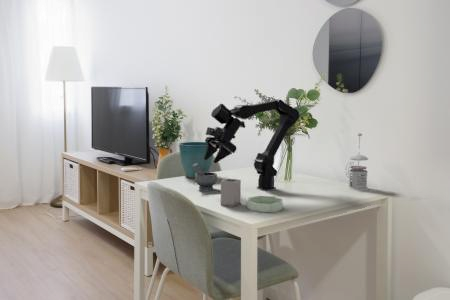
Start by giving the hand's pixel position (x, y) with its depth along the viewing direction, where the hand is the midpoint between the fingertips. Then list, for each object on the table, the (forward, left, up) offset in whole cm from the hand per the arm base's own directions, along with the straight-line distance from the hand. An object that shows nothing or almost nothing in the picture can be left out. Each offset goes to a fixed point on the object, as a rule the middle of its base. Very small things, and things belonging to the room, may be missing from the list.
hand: (209, 161), depth 190 cm
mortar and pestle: (-4, -11, -15) cm, 19 cm away
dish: (-6, +29, -14) cm, 33 cm away
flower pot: (-17, -40, -15) cm, 46 cm away
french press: (-62, +25, -15) cm, 69 cm away
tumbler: (+2, +18, -14) cm, 23 cm away
